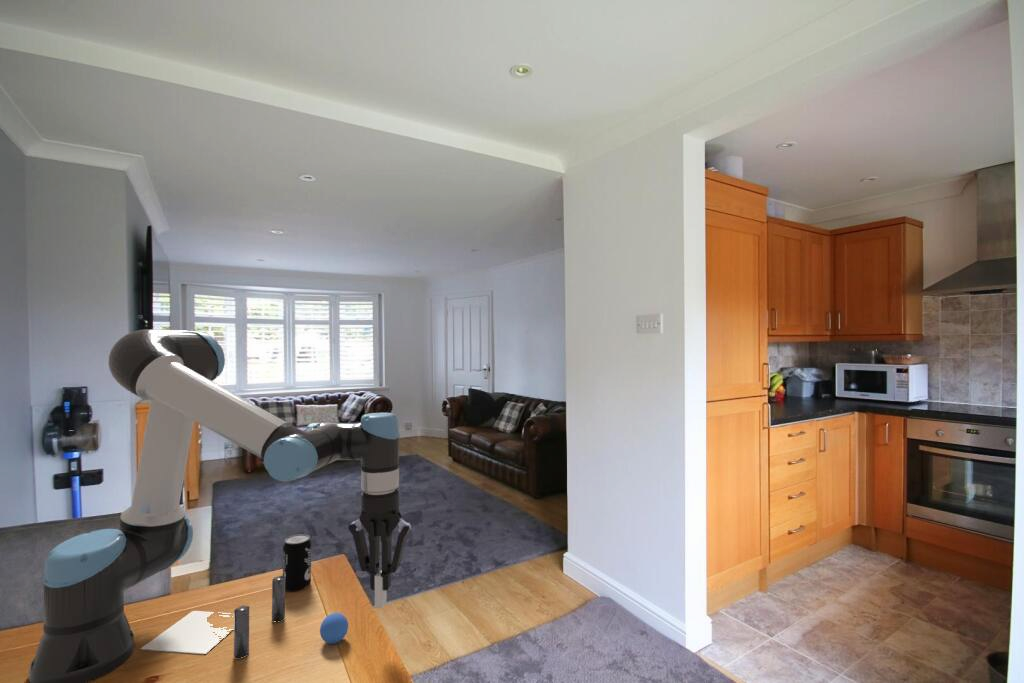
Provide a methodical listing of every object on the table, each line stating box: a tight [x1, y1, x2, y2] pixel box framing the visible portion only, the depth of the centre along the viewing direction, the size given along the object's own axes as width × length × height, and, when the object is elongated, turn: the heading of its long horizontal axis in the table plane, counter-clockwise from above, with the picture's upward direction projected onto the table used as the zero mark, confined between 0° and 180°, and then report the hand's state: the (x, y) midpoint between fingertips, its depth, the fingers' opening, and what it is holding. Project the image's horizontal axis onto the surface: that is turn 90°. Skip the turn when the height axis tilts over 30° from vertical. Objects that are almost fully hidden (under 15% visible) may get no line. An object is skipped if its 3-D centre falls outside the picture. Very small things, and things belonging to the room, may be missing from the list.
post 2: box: [271, 575, 286, 623], centre depth 109 cm, size 3×3×9 cm
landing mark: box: [140, 610, 234, 655], centre depth 104 cm, size 14×14×1 cm
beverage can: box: [282, 533, 312, 592], centre depth 124 cm, size 7×7×12 cm
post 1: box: [233, 605, 250, 659], centre depth 96 cm, size 3×3×9 cm
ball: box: [319, 612, 349, 644], centre depth 101 cm, size 6×6×6 cm
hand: (380, 604), depth 100 cm, fingers closed
